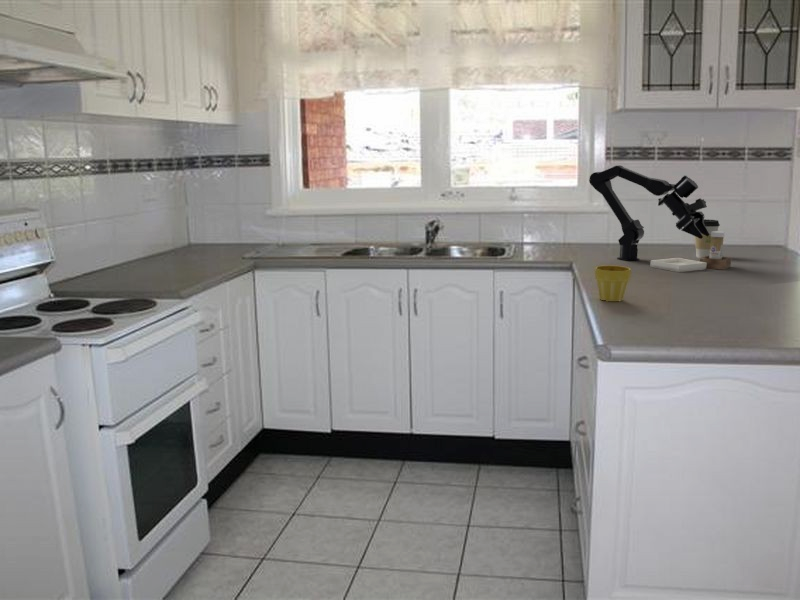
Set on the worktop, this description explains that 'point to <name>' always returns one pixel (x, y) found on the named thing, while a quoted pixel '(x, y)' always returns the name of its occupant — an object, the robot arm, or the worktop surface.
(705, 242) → the coffee cup
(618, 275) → the plant pot
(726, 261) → the walnut holder
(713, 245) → the sprinkles bottle
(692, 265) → the cream tray
